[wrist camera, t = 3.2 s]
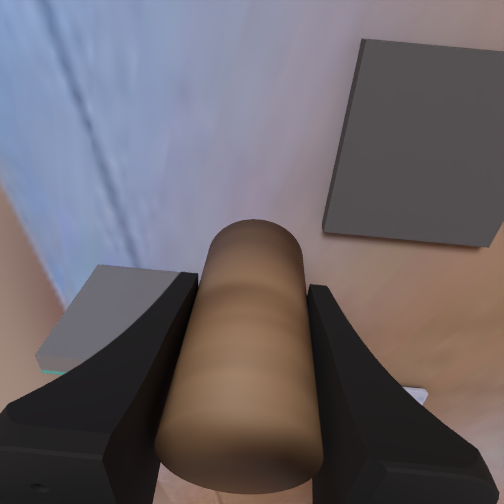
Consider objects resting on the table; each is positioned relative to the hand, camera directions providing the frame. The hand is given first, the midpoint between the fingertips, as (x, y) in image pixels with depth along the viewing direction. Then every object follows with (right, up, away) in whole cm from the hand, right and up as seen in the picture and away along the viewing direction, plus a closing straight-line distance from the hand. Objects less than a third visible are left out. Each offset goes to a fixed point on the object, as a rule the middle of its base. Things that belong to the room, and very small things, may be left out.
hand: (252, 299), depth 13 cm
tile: (-8, -1, +13) cm, 15 cm away
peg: (0, +1, +2) cm, 2 cm away
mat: (+10, +7, +6) cm, 14 cm away
